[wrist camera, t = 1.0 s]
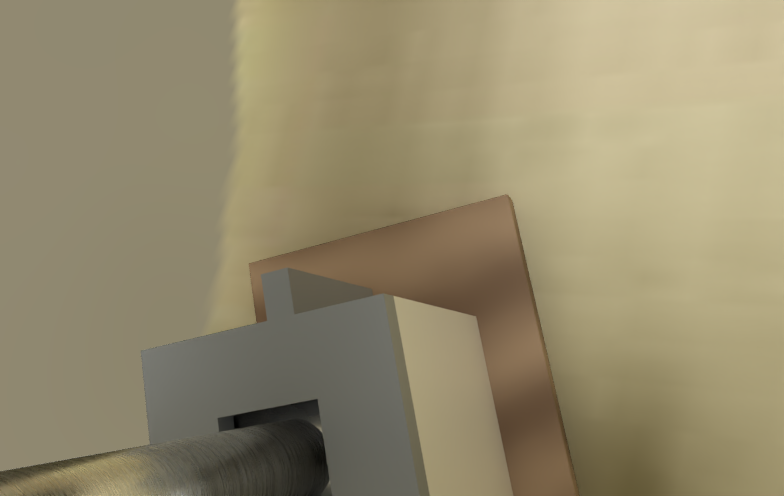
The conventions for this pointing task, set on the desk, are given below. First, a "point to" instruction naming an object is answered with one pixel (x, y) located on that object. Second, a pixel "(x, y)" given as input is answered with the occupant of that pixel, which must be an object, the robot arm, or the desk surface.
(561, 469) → the board
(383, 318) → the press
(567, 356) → the desk surface
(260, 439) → the plunger
